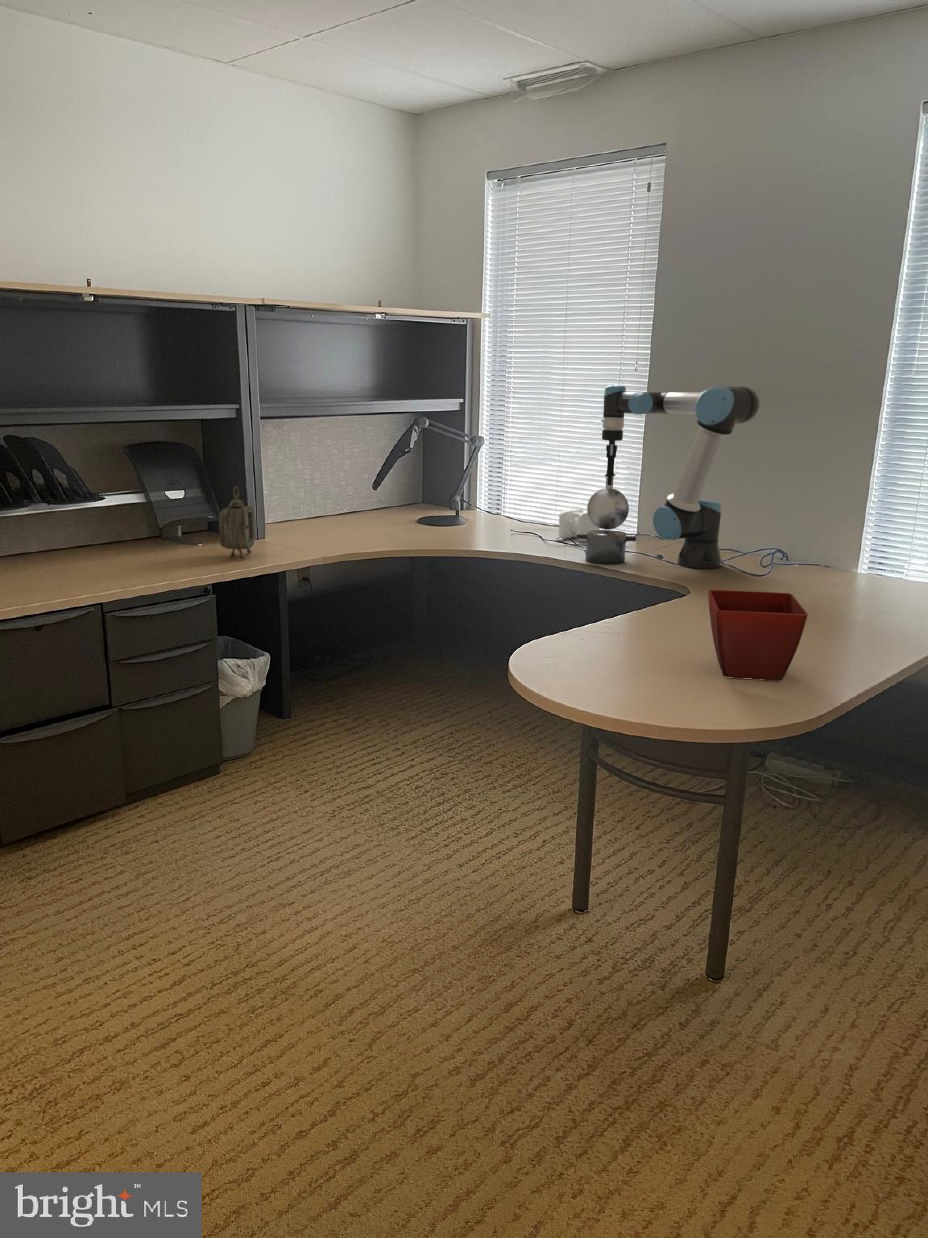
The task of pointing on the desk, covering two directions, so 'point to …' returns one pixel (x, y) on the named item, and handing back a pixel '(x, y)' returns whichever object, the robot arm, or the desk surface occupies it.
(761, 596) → the plant pot
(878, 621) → the desk surface
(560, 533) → the cable organizer
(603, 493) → the lid
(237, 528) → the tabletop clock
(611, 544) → the pot
